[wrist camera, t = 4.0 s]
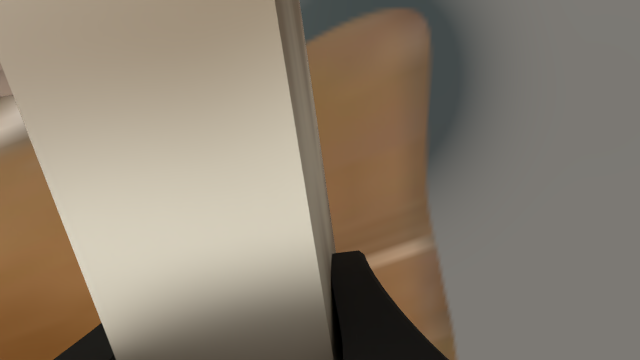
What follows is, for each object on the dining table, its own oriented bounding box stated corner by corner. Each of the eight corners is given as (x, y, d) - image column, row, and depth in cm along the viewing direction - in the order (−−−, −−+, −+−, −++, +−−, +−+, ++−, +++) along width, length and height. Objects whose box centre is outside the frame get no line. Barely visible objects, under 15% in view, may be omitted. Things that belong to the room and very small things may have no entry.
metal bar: (367, 469, 14) (388, 696, 10) (273, 478, 15) (250, 704, 10) (281, -121, 8) (230, -264, 4) (126, -95, 9) (-104, -203, 4)
